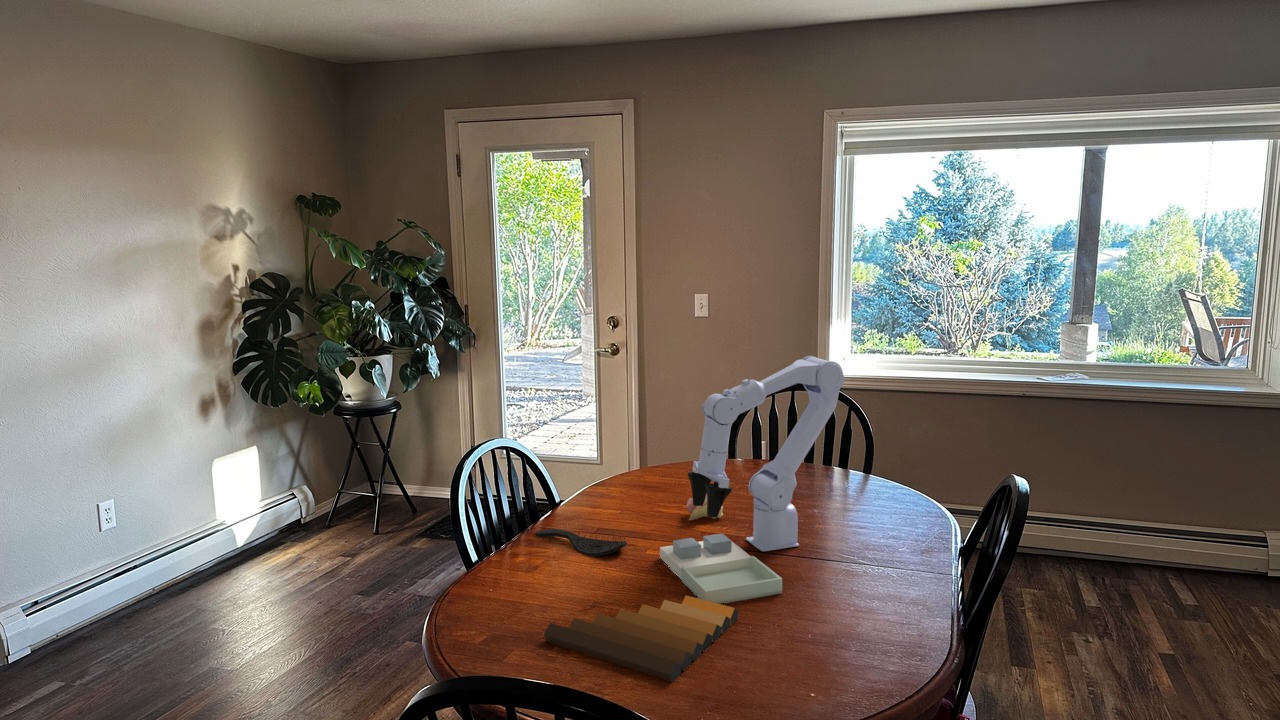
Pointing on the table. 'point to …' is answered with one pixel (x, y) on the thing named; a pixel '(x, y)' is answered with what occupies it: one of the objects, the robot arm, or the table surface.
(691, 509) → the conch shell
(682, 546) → the tile outer
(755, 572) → the box
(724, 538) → the squat square grey block
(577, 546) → the hairbrush
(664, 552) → the board
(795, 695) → the table surface
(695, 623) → the pan flute
